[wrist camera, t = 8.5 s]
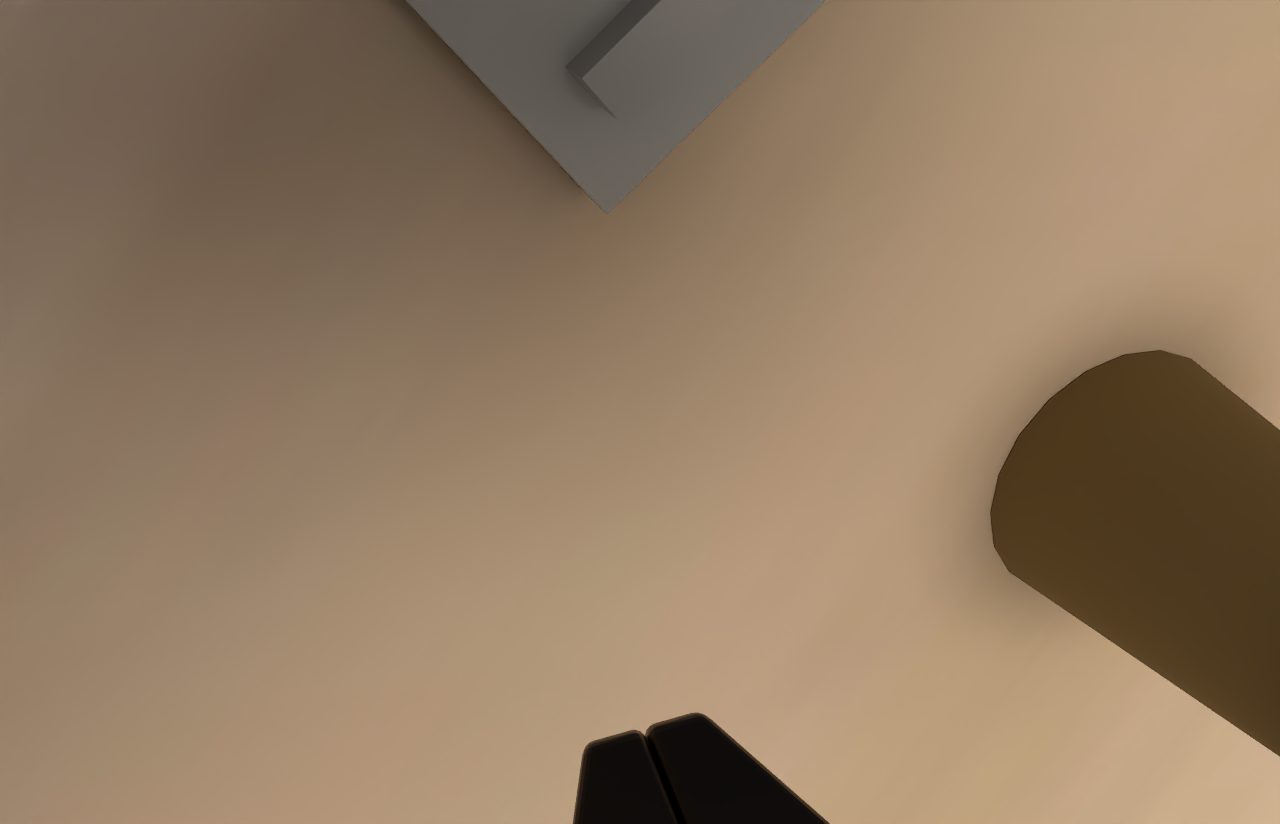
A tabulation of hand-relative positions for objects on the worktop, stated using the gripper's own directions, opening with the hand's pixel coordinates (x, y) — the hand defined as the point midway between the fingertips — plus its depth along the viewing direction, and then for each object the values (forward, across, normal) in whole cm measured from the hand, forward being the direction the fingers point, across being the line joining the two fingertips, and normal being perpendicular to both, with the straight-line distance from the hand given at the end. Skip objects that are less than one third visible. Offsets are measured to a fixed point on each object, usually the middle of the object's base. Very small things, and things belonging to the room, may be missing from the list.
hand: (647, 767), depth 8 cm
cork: (+13, -13, +10) cm, 21 cm away
